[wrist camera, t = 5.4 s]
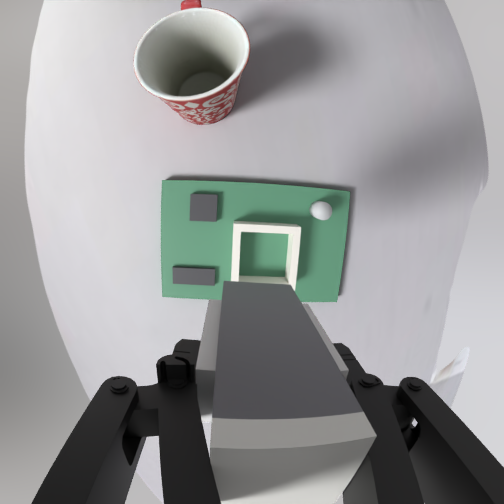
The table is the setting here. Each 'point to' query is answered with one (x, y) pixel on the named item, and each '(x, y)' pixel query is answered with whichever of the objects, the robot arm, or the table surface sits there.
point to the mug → (194, 61)
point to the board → (251, 238)
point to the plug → (280, 404)
